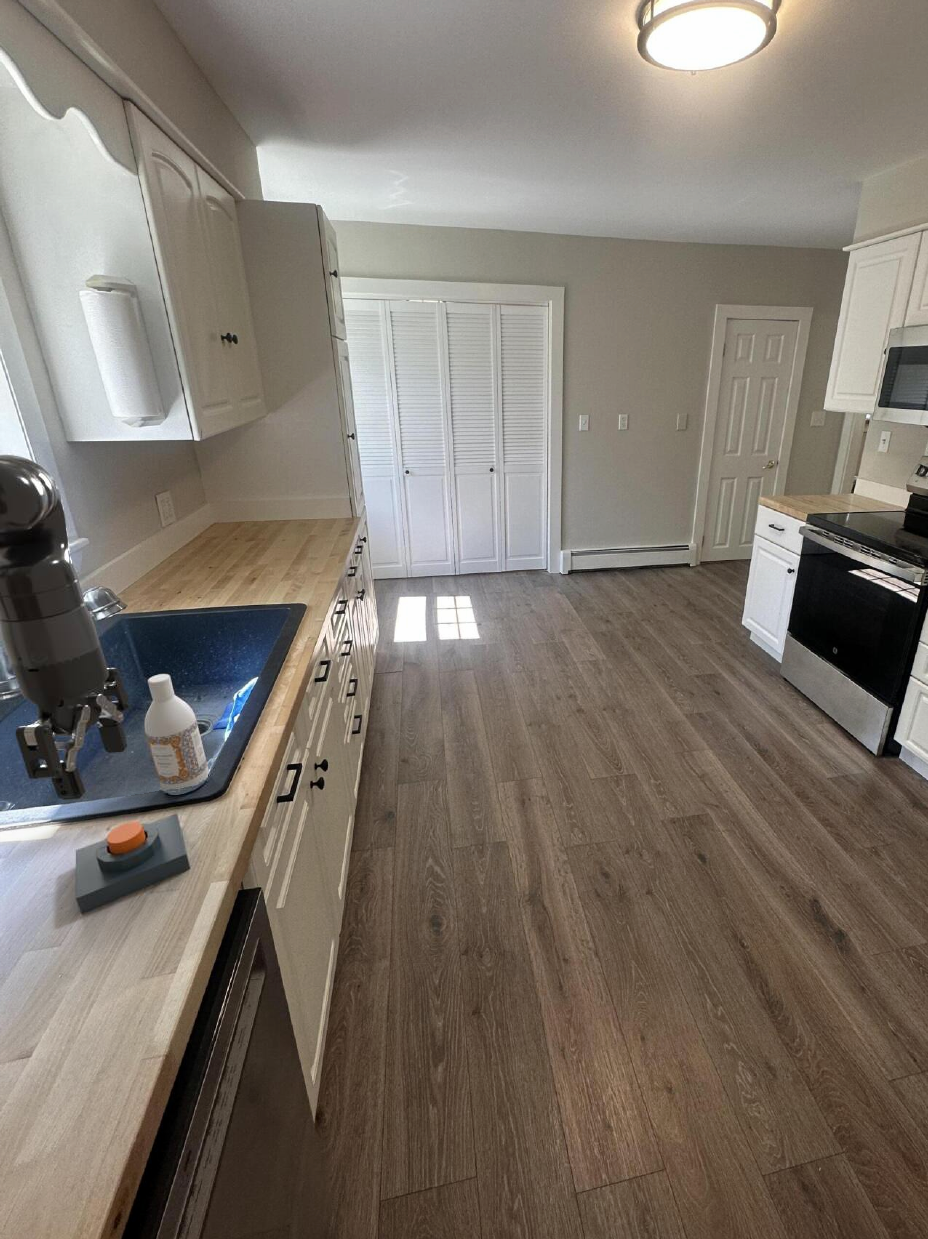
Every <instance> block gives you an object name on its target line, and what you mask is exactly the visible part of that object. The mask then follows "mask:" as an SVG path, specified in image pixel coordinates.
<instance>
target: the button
mask: <svg viewBox="0 0 928 1239" xmlns="http://www.w3.org/2000/svg"><path fill="white" fill-rule="evenodd" d="M142 824H143V823H141V822H138V821H129V822H125V823H123V824H120V825H118V826H116V827H114V828H113V829H112V830H110V831H109V832H108V834H107V835H106V837H105V838H106V840H107V843H108V846H109V849H110V852H111V853H112V854H114V855H121V854H125V853H128V852H130V851H133V850H135V849H136V848H138V847H139V846H141V845H142V844H143V843H144V842H145V839H146V837H145V833H144V830H143V827H142Z"/></svg>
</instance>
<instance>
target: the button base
mask: <svg viewBox="0 0 928 1239" xmlns="http://www.w3.org/2000/svg"><path fill="white" fill-rule="evenodd" d="M141 824H142V827H143V830H144V833H145V837H146V839H145V842H144V843H143V844H142V845H141V846H139V847H138V848H136V849H135V850H133V851H130V852H128V853H125V854H121V855H114V854H112V853H111V852H110V849H109V846H108V843H107V840H106V838H107V837H105V838H104V839H103V840H100V841H97V842H94V843H92V844H89V845H86V846H83V847H80V848H78V849H76V850H75V900H76V903H77V906H78V908H79V911H80V913H81V915H84V914H87V913H89V912H91V911H94V910H96V909H98V908H101V907H103V906H105V905H108V904H110V903H113V902H115V901H117V900H120V899H122V898H124V897H127V896H130V895H132V894H134V893H137V892H139V891H142V890H144V889H146V888H148V887H151V886H153V885H156V884H158V883H160V882H163V881H165V880H168V879H170V878H173V877H175V876H176V875H180V874H182V873H184V872H187V871H189V870H191V865H190V862H189V861H190V860H189V857H188V852H187V848H186V844H185V839H184V835H183V831H182V827H181V823H180V819H179V815H178V813H177V812H176V813H174V814H170V815H168V816H165V817H163V818H160V819H157V820H155V821H152V822H149V823H148V822H147V823H141Z"/></svg>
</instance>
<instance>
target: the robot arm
mask: <svg viewBox="0 0 928 1239" xmlns="http://www.w3.org/2000/svg"><path fill="white" fill-rule="evenodd" d="M67 529H68V528H67V520H66V515H65V509H64V503H63V500H62V496H61V493H60V491H59V488H58V486H57V484H56V482H55V480H54V478H53V477H52V476H51V474H50V473H49V471H47V470H46V469H45V468H44V467H43V466H41V465H40V464H38V463H37V462H35V461H33V460H31V459H29V458H26V457H23V456H20V455H15V454H0V636H1V640H2V643H3V646H4V649H5V651H6V654H7V657H8V660H9V663H10V666H11V668H12V671H13V674H14V676H15V679H16V682H17V685H18V687H19V690H20V693H21V696H22V697H23V698H24V699H26V700H27V701H30V703H33V704H34V705H35V706H37V711H38V714H37V715H38V716H37V720H36V721H35V722H33V723H32V724H30V725H23V726H22V725H21V726H18V727H17V728H16V730H15V738H16V742H17V744H18V748H19V750H20V753H21V756H22V759H23V762H24V766H25V769H26V772H27V776H28V778H29V779H30V780H38V779H51V782H52V785H53V787H54V791H55V793H56V795H57V797H58V798H59V799H61V800H64V801H67V800H77V799H79V800H80V799H81V798H82V797H83V796H84V795H85V794H86V789H85V785H84V783H83V780H82V778H81V775H80V771H79V768H78V766H76V761H77V754H78V751H79V750H80V749H82V748H83V746H84V740H85V735H86V734H87V733H88V731H89V730H90V729H91V727H92V726H94V725H96V724H97V725H99V726H98V727H97V729H98V732H99V736H100V738H101V741H102V745H103V749H104V751H105V752H106V753H108V754H114V753H123V752H124V751H125V750H126V749H127V748H128V743H127V740H126V739H127V738H126V735H125V731H124V728H123V725H122V723H123V721H124V711H125V712H126V711H129V710H130V708H131V703H130V700H129V697H128V694H127V691H126V688H125V684H124V682H123V678H122V676H121V673H120V669H118V667H108V665H107V661H106V659H105V656H104V652H103V649H102V645H101V642H100V638H99V635H98V632H97V628H96V624H95V621H94V619H93V617H92V614H91V613H90V611H89V609H88V607H87V604H86V602H85V598H84V595H83V590H82V588H81V585H80V582H79V578H78V575H77V572H76V570H75V568H74V565H73V562H72V559H71V554H70V545H69V535H68V530H67ZM112 697H116V699H117V700H114V701H113V700H112ZM57 736H59V737H61V738H70V737H71V738H70V739H69V740H67V741H56V738H57ZM59 751H64V755H63V760H61V759H60V755H59ZM40 760H43V762H42V765H41V761H40Z"/></svg>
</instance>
